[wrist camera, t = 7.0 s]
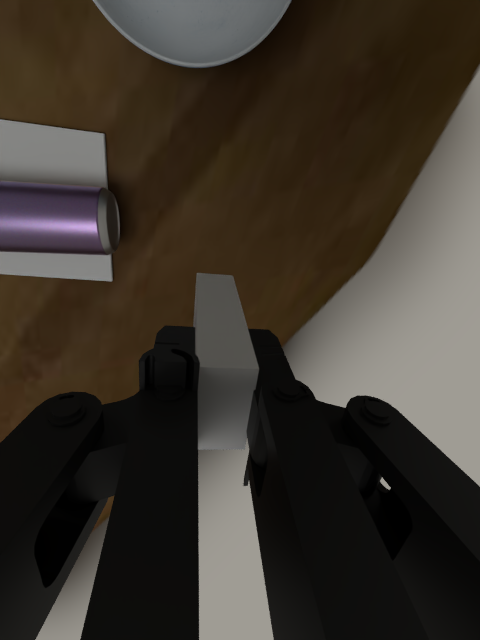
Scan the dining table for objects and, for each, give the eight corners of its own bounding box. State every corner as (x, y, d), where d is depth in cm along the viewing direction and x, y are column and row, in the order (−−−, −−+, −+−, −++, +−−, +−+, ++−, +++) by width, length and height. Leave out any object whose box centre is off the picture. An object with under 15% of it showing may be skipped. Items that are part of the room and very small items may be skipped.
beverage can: (101, 196, 25) (-118, 183, 23) (111, 266, 29) (-80, 260, 26) (116, 181, 30) (-63, 169, 28) (123, 242, 34) (-37, 235, 31)
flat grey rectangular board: (-113, 104, 26) (-119, 103, 26) (105, 134, 29) (103, 133, 29) (-64, 267, 33) (-68, 269, 32) (112, 279, 35) (111, 281, 35)
